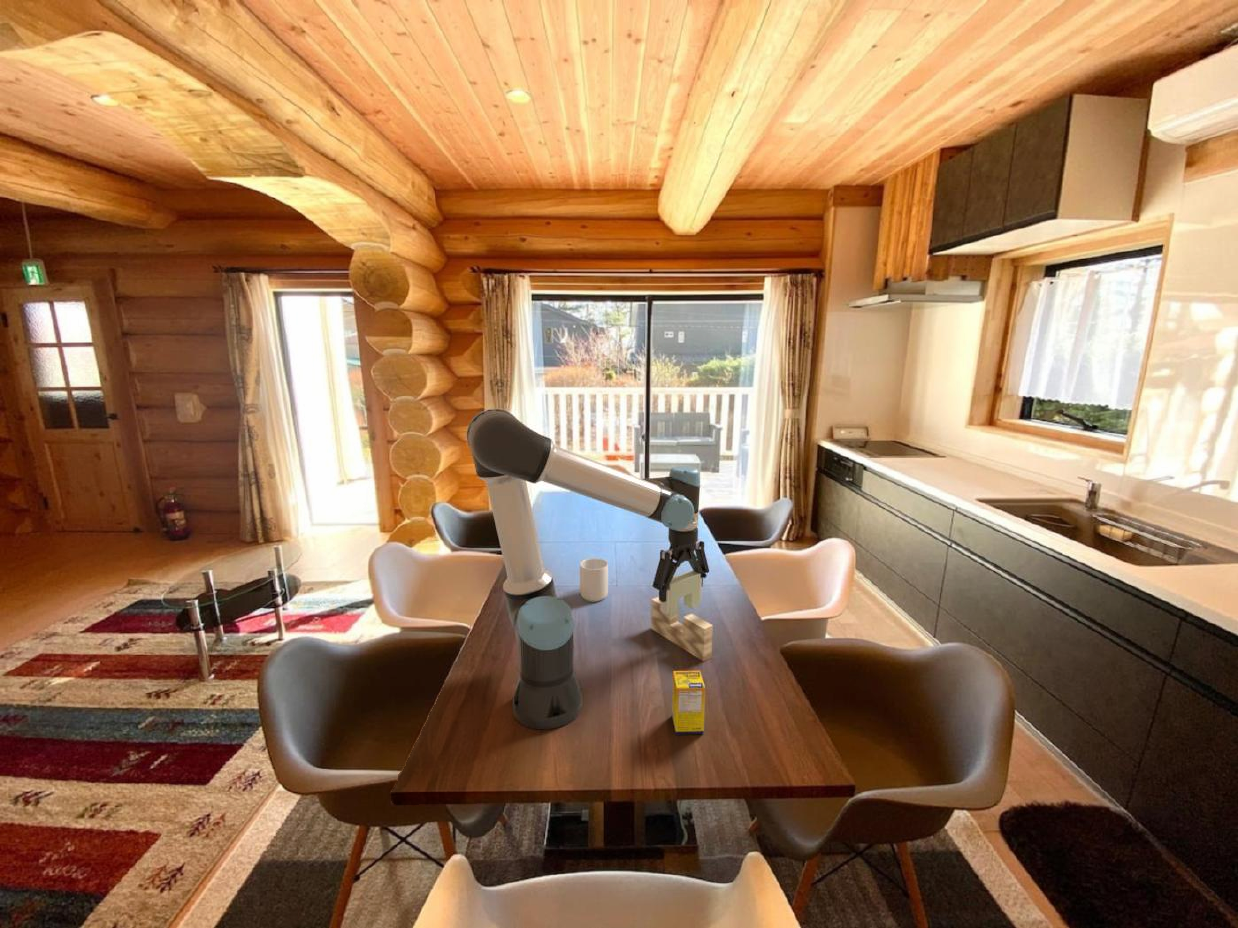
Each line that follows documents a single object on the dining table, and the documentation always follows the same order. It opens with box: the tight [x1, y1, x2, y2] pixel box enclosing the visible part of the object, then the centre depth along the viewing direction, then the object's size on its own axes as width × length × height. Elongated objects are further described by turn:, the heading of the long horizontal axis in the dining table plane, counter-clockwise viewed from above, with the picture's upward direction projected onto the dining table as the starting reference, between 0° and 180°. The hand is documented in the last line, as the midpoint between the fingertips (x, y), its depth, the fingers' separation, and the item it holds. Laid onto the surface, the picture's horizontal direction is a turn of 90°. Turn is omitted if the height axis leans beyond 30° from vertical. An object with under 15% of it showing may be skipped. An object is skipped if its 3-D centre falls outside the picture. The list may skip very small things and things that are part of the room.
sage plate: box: [662, 569, 701, 618], centre depth 136 cm, size 11×3×9 cm, turn 128°
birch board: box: [650, 596, 714, 662], centre depth 139 cm, size 20×3×9 cm, turn 38°
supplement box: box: [671, 670, 706, 736], centre depth 107 cm, size 6×6×11 cm
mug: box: [579, 558, 609, 603], centre depth 166 cm, size 12×9×11 cm
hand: (680, 605), depth 137 cm, fingers closed on sage plate, 11 cm apart
